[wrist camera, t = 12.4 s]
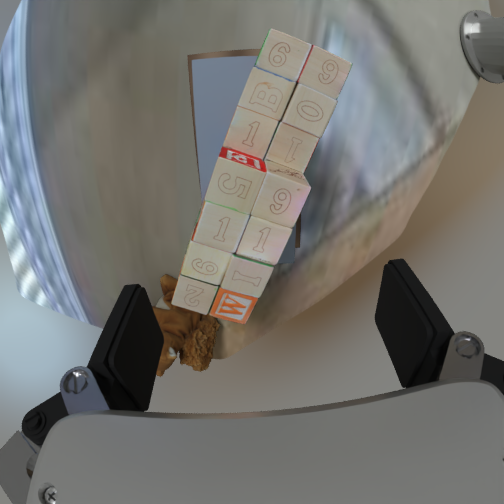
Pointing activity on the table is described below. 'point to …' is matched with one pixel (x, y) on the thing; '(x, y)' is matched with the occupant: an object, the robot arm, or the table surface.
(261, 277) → the stack of blocks
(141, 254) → the table surface
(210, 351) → the stuffed squirrel
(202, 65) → the slate-blue tower block
